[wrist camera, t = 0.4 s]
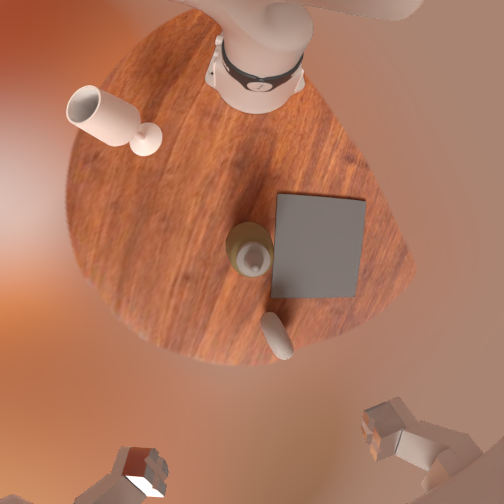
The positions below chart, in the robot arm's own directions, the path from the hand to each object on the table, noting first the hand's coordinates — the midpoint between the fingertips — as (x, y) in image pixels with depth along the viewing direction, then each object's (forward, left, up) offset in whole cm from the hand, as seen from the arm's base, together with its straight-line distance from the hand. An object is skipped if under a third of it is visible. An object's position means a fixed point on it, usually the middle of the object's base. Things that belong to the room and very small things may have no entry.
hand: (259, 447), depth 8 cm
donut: (+17, +8, -44) cm, 48 cm away
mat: (+1, +16, -43) cm, 46 cm away
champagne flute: (-19, -18, -44) cm, 51 cm away
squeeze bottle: (0, +2, -44) cm, 44 cm away
